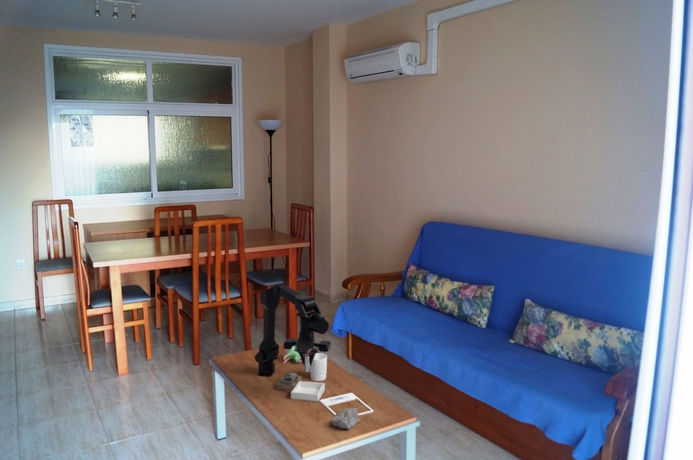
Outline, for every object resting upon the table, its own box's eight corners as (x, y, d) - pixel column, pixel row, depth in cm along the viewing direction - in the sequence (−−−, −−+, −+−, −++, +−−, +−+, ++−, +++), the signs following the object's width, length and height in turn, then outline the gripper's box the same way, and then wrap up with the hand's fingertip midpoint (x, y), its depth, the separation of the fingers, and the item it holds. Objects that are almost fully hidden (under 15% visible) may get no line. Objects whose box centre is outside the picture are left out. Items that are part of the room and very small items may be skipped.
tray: (291, 399, 227) (290, 392, 227) (299, 387, 238) (299, 381, 238) (317, 401, 225) (317, 394, 225) (324, 390, 236) (324, 383, 235)
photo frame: (351, 392, 232) (373, 410, 216) (351, 394, 232) (373, 412, 217) (319, 399, 226) (339, 418, 210) (319, 402, 226) (339, 421, 210)
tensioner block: (284, 379, 247) (284, 370, 246) (301, 381, 245) (301, 372, 244) (276, 389, 237) (276, 380, 236) (294, 391, 235) (294, 382, 234)
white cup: (328, 374, 252) (328, 353, 250) (326, 382, 244) (325, 360, 242) (311, 374, 252) (310, 352, 251) (308, 381, 245) (307, 359, 243)
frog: (281, 355, 259) (300, 357, 259) (285, 336, 266) (304, 338, 266) (281, 367, 268) (300, 369, 268) (285, 349, 275) (303, 351, 275)
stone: (328, 425, 206) (328, 410, 206) (347, 416, 213) (348, 402, 213) (344, 433, 201) (344, 417, 200) (363, 424, 208) (363, 408, 207)
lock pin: (302, 372, 229) (302, 353, 228) (305, 368, 232) (304, 350, 231) (310, 372, 228) (310, 353, 227) (312, 369, 231) (312, 350, 230)
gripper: (278, 333, 222) (279, 370, 224) (324, 336, 218) (324, 374, 220) (287, 324, 232) (288, 360, 235) (331, 327, 228) (331, 363, 231)
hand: (307, 365), depth 230 cm, fingers closed on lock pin, 2 cm apart
